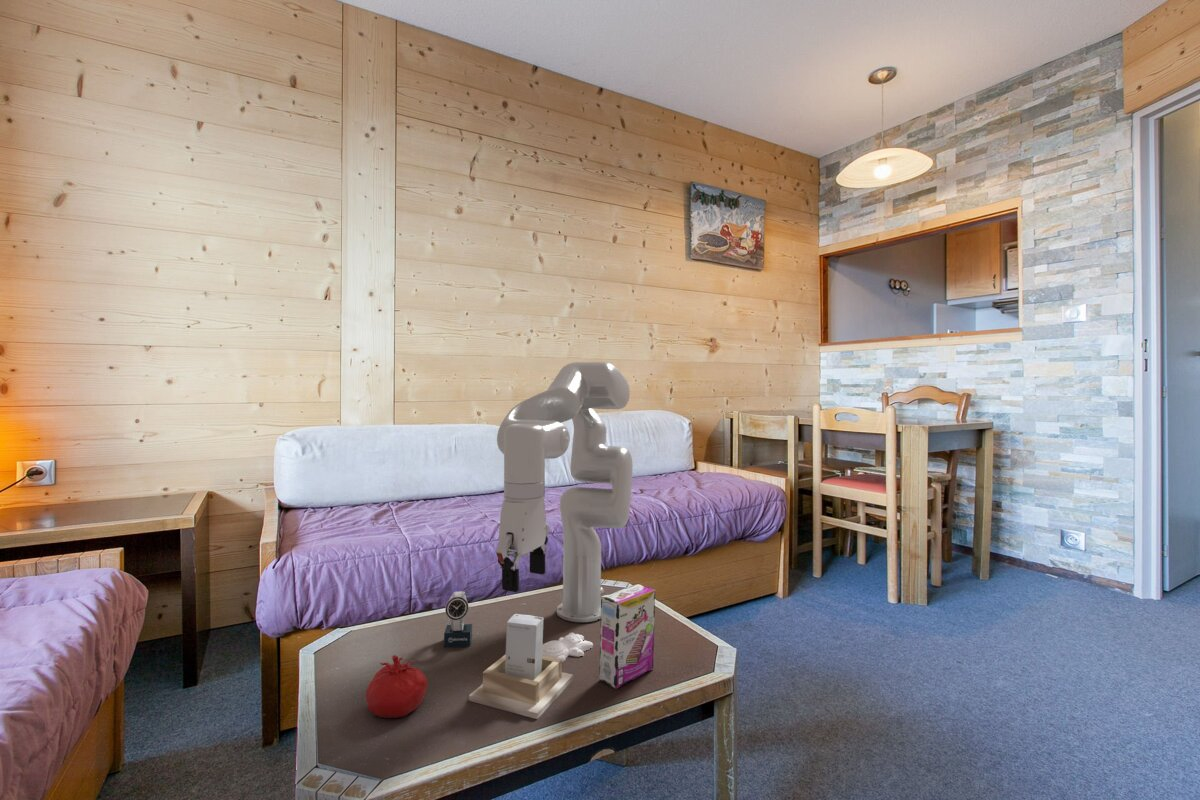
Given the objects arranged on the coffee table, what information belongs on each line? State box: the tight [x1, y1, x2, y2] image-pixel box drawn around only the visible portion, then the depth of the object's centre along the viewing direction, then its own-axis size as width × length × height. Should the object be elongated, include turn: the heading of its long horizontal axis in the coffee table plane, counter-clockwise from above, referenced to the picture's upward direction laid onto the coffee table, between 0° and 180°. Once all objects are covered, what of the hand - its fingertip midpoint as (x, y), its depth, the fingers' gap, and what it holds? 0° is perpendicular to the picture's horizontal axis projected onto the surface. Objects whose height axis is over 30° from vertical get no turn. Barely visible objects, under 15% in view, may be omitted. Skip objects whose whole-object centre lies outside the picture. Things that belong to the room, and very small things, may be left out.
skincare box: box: [505, 613, 544, 680], centre depth 103 cm, size 6×4×12 cm
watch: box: [443, 591, 473, 649], centre depth 122 cm, size 6×8×11 cm
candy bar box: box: [598, 584, 656, 689], centre depth 108 cm, size 11×5×16 cm, turn 134°
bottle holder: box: [468, 653, 574, 720], centre depth 103 cm, size 14×14×4 cm
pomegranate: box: [365, 654, 429, 719], centre depth 96 cm, size 10×10×9 cm
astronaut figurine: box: [542, 632, 594, 663], centre depth 119 cm, size 9×12×3 cm
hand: (524, 581), depth 103 cm, fingers open, 9 cm apart
